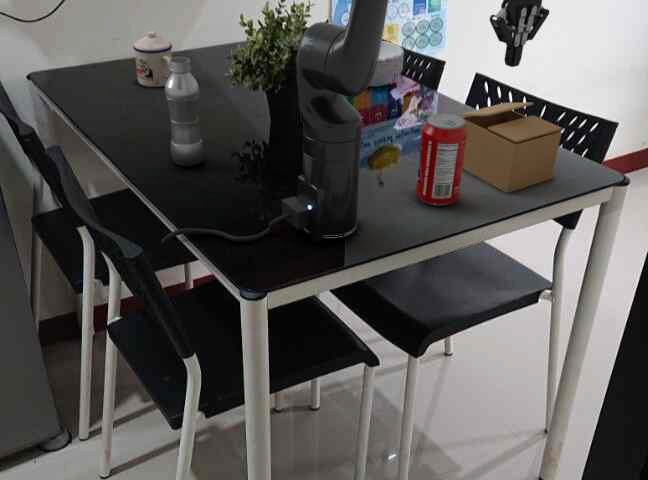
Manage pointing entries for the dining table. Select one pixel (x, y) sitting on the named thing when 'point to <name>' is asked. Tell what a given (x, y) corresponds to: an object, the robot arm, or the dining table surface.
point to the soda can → (441, 159)
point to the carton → (510, 149)
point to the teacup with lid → (153, 60)
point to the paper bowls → (388, 64)
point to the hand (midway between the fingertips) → (511, 65)
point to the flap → (496, 109)
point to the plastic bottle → (184, 113)
